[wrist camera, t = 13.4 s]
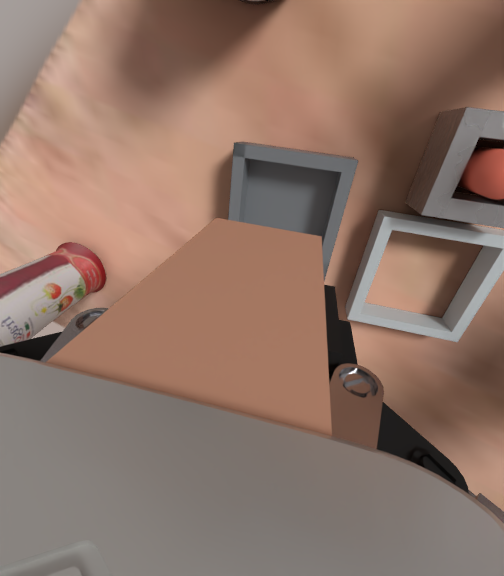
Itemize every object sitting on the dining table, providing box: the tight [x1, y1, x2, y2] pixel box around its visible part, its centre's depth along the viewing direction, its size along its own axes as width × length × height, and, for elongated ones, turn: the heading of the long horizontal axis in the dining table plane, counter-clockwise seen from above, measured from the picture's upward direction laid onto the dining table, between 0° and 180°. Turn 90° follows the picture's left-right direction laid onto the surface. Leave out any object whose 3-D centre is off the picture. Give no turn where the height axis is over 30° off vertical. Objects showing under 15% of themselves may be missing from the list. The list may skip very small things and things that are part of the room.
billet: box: [46, 218, 332, 436], centre depth 9 cm, size 5×5×12 cm
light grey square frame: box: [345, 210, 504, 342], centre depth 27 cm, size 11×11×2 cm
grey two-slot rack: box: [228, 142, 358, 280], centre depth 29 cm, size 21×10×3 cm, turn 173°
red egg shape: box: [457, 147, 504, 199], centre depth 20 cm, size 3×3×4 cm
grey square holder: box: [405, 107, 504, 228], centre depth 21 cm, size 7×7×4 cm
